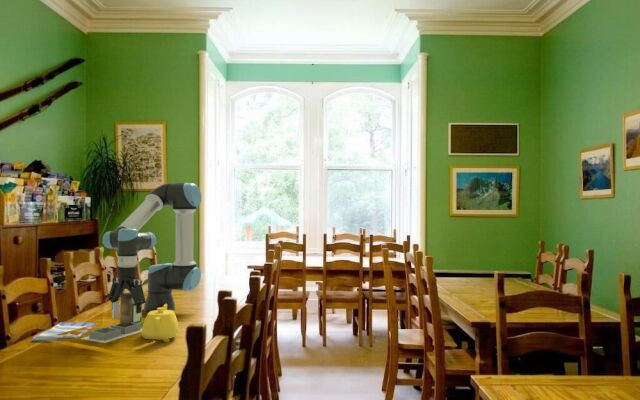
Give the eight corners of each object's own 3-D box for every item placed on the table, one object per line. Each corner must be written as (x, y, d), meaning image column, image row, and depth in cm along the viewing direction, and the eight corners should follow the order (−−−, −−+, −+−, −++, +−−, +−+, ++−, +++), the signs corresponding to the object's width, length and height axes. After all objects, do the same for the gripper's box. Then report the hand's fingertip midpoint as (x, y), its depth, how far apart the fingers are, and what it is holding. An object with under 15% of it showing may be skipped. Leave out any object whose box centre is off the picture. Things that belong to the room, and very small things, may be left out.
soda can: (134, 328, 195) (135, 300, 195) (119, 327, 197) (119, 299, 197) (144, 324, 202) (145, 297, 203) (129, 322, 204) (130, 296, 204)
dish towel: (30, 343, 173) (30, 335, 173) (60, 327, 197) (60, 320, 197) (77, 342, 175) (77, 335, 175) (101, 327, 198) (101, 320, 198)
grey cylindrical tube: (126, 328, 190) (127, 292, 190) (135, 330, 188) (136, 293, 188) (115, 331, 185) (116, 294, 185) (125, 333, 183) (126, 295, 183)
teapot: (181, 331, 191) (182, 302, 191) (173, 345, 171) (174, 312, 171) (148, 332, 189) (149, 302, 189) (136, 346, 169) (137, 313, 169)
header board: (125, 328, 194) (125, 319, 194) (148, 332, 189) (148, 323, 189) (79, 341, 174) (80, 331, 174) (104, 346, 169) (104, 336, 169)
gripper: (99, 265, 188) (97, 318, 188) (141, 268, 179) (140, 324, 178) (114, 263, 195) (112, 314, 195) (155, 266, 186) (154, 320, 185)
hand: (125, 319), depth 186 cm, fingers open, 11 cm apart
